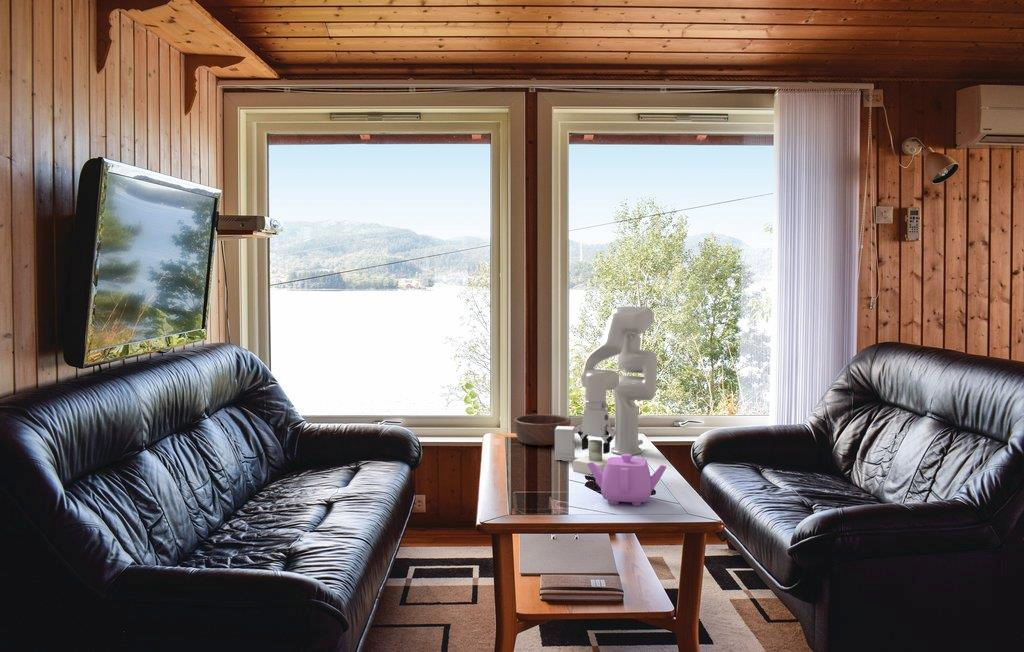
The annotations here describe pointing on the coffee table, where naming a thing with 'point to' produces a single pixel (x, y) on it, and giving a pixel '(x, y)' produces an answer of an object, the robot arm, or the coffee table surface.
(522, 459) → the coffee table surface
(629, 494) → the teapot
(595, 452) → the green domed cylinder
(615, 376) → the robot arm
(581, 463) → the base
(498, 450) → the coffee table surface
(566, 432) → the supplement box
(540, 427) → the wooden bowl
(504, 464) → the coffee table surface
